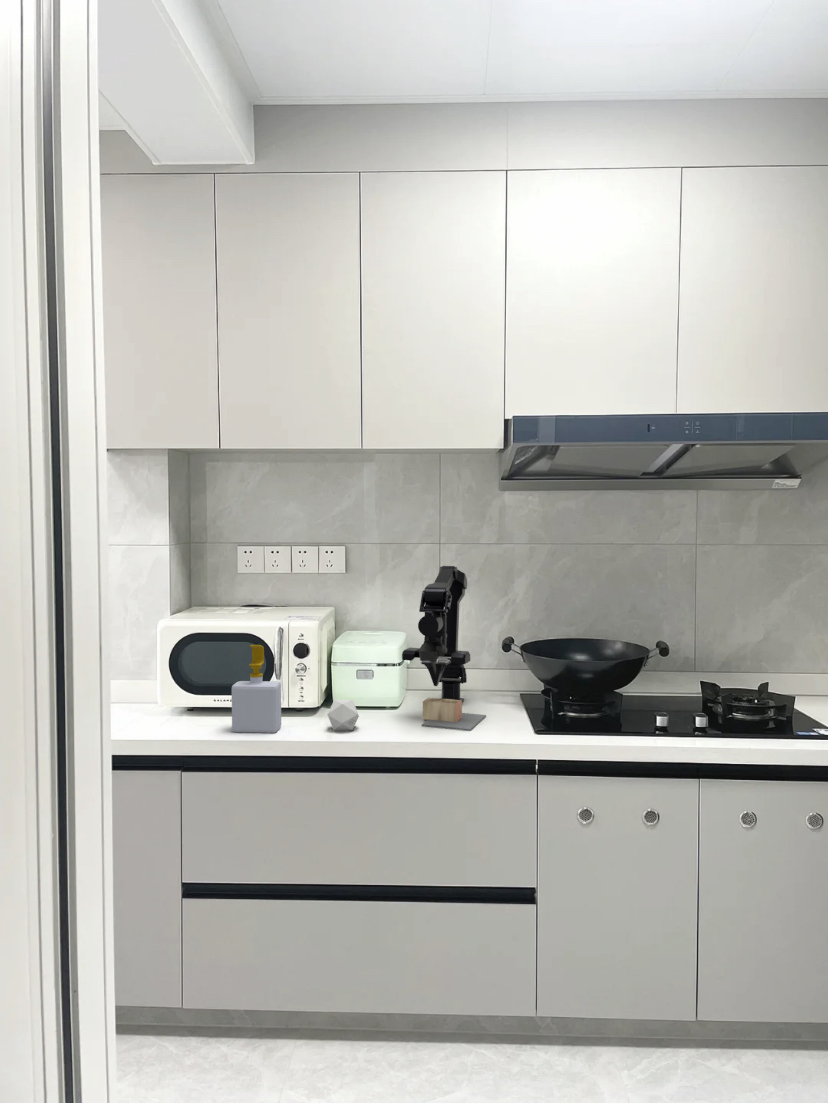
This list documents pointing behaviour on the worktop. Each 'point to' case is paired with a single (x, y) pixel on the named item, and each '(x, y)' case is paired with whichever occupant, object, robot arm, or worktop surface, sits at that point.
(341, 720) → the die
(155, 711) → the worktop surface
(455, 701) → the pine block
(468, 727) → the mat
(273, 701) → the soap bottle
